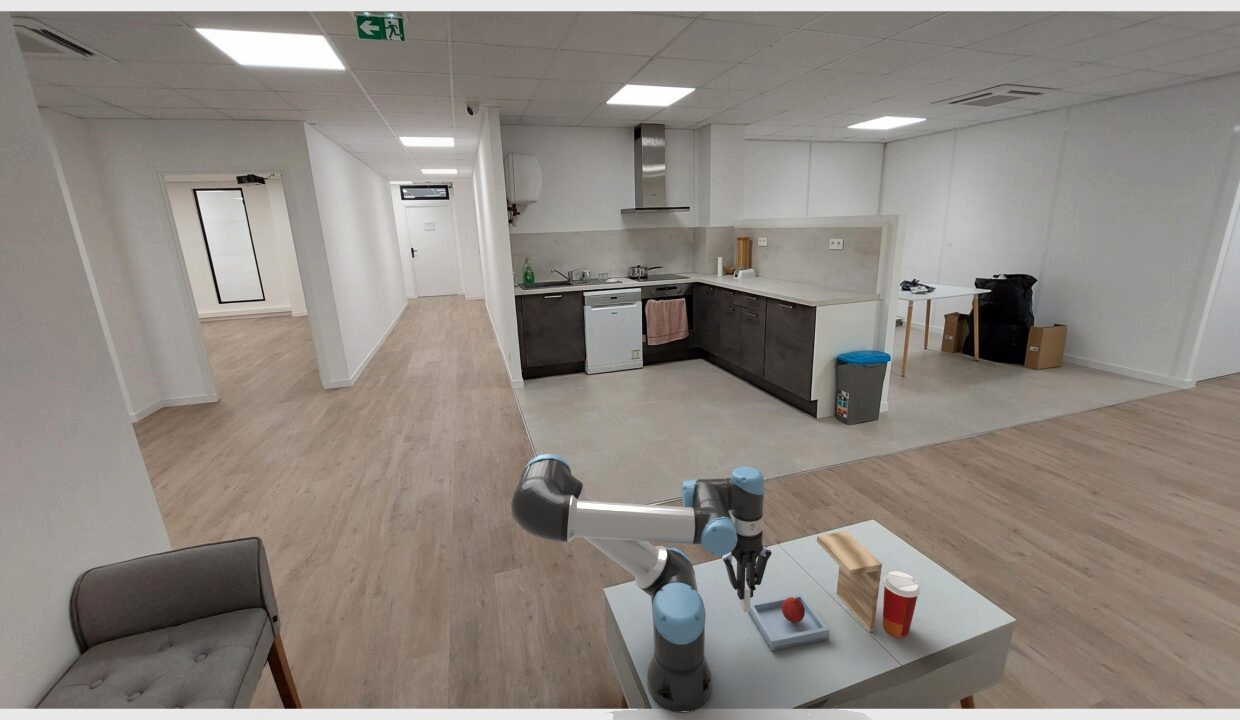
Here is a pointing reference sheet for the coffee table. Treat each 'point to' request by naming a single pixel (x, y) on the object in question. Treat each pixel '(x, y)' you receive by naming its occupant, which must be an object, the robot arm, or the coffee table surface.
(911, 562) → the coffee table surface
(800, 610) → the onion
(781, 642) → the tray
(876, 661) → the coffee table surface
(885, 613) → the coffee cup
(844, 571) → the wooden l-shaped bracket
